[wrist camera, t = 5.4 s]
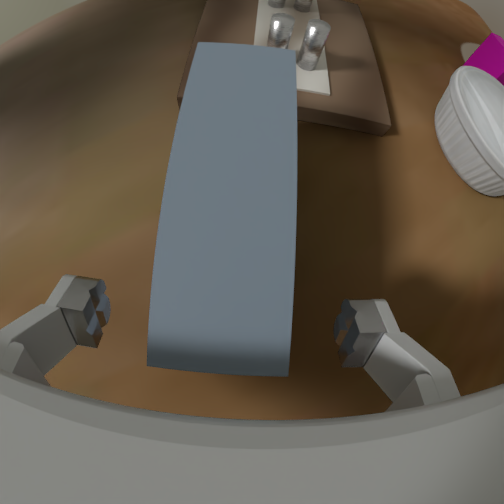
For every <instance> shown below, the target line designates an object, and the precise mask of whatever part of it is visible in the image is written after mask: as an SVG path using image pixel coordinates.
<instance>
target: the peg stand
mask: <svg viewBox="0 0 504 504" xmlns="http://www.w3.org/2000/svg"><path fill="white" fill-rule="evenodd" d="M198 42H214V43H234V44H247V45H257V46H266V47H275V48H282V49H289V50H295V52H296V83H297V120H300V121H306V122H313V123H319V124H324V125H330V126H336V127H341V128H346V129H351V130H356V131H360V132H365V133H369V134H374V135H378V136H383V135H384V134H385V133H386V131H387V130H388V129H389V128H390V127H391V121H390V116H389V111H388V106H387V102H386V97H385V93H384V89H383V85H382V81H381V77H380V73H379V69H378V65H377V62H376V58H375V55H374V51H373V48H372V45H371V41H370V38H369V35H368V32H367V29H366V26H365V23H364V20H363V17H362V15H361V12H360V9H359V7H358V5H357V4H353V3H350V2H346V1H342V0H207V2H206V5H205V8H204V10H203V13H202V16H201V19H200V22H199V25H198V28H197V31H196V34H195V37H194V40H193V43H192V46H191V49H190V52H189V56H188V59H187V62H186V66H185V69H184V73H183V76H182V80H181V83H180V87H179V91H178V95H177V100H178V105H179V110H180V108H181V104H182V99H183V95H184V91H185V87H186V84H187V80H188V76H189V72H190V69H191V65H192V61H193V58H194V54H195V51H196V48H197V44H198Z"/></svg>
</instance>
